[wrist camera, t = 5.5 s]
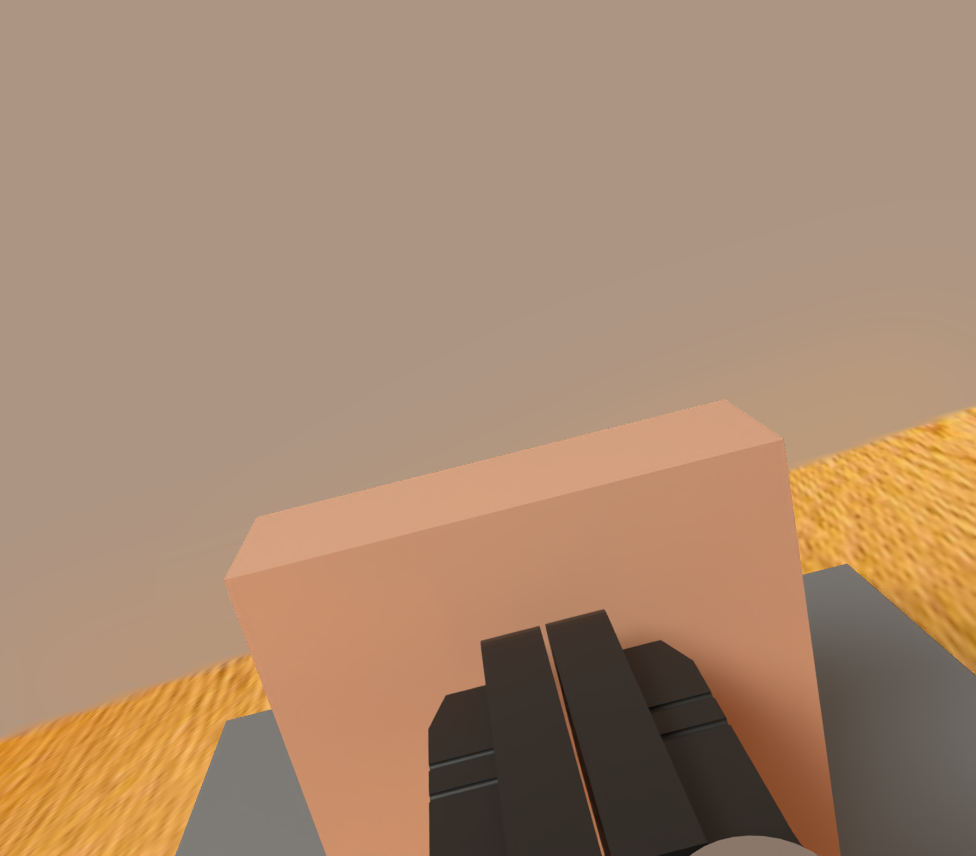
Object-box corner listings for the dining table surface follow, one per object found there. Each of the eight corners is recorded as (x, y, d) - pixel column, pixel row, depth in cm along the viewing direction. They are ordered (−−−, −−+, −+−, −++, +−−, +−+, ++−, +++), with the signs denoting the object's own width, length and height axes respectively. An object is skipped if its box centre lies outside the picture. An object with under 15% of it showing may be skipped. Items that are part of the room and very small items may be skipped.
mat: (850, 591, 25) (847, 563, 25) (1326, 1034, 12) (1332, 985, 12) (236, 747, 25) (226, 720, 25) (23, 1370, 12) (-5, 1329, 12)
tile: (801, 909, 15) (720, 396, 12) (864, 1027, 13) (783, 438, 10) (431, 1003, 15) (259, 512, 12) (432, 1139, 13) (223, 580, 10)
